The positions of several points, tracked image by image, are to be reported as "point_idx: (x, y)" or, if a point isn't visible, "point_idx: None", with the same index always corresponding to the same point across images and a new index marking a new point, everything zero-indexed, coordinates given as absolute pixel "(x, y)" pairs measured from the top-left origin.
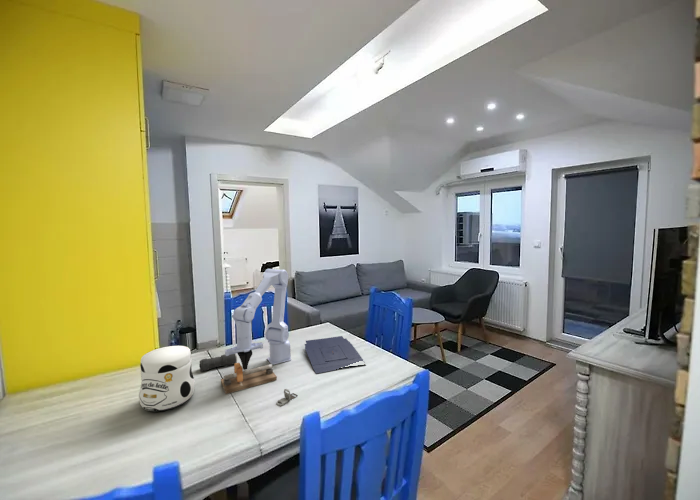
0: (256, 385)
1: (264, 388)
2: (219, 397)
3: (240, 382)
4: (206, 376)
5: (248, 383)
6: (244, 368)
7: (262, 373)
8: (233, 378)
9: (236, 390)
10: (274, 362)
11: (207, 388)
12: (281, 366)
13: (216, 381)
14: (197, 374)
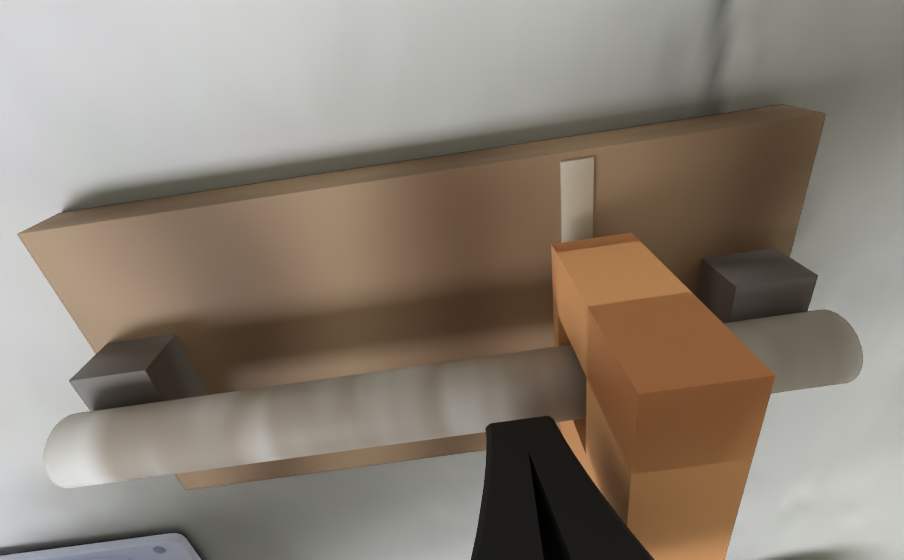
0: (355, 169)
1: (230, 23)
2: (882, 48)
3: None
4: (787, 513)
5: (470, 187)
6: (547, 434)
7: (262, 383)
8: None
9: (640, 127)
10: (152, 558)
11: (881, 325)
12: None
13: None
14: (830, 553)
